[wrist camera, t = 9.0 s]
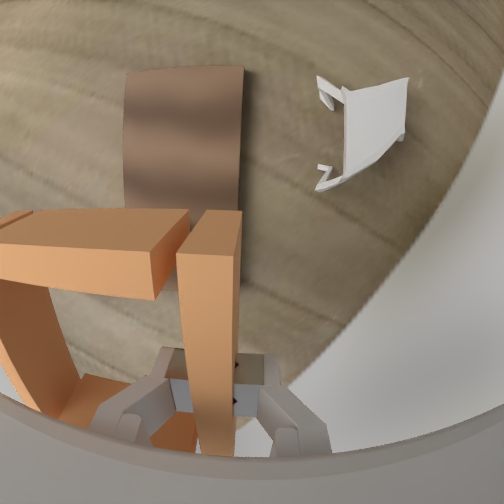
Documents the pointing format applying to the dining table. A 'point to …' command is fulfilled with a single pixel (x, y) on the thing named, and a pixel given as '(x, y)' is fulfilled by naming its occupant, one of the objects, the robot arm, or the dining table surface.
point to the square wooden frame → (129, 286)
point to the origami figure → (365, 124)
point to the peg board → (183, 140)
